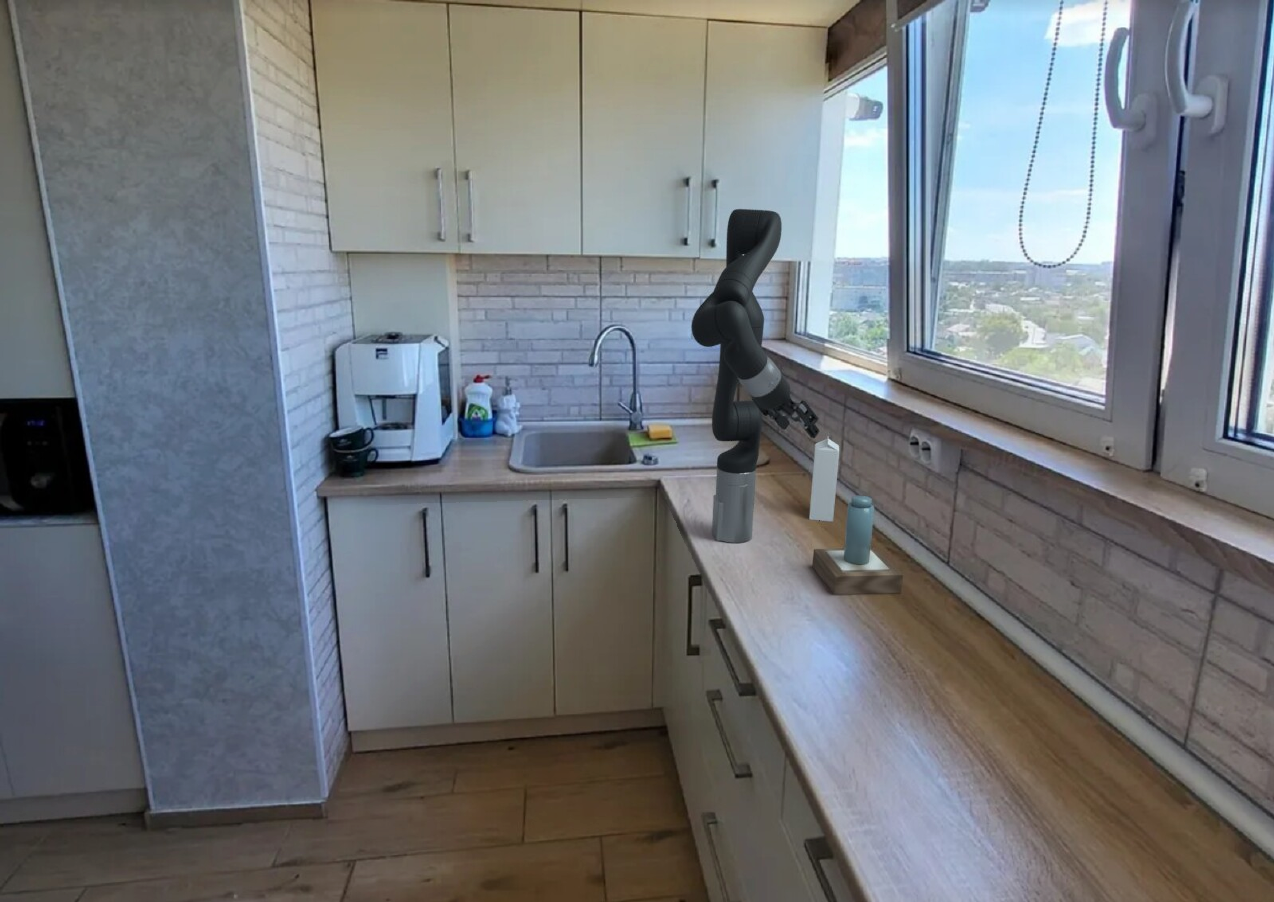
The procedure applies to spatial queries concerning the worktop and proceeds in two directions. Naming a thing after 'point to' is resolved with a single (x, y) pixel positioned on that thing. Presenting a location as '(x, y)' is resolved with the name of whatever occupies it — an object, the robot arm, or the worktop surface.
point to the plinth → (857, 573)
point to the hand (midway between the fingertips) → (800, 430)
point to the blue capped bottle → (859, 530)
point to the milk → (824, 480)
